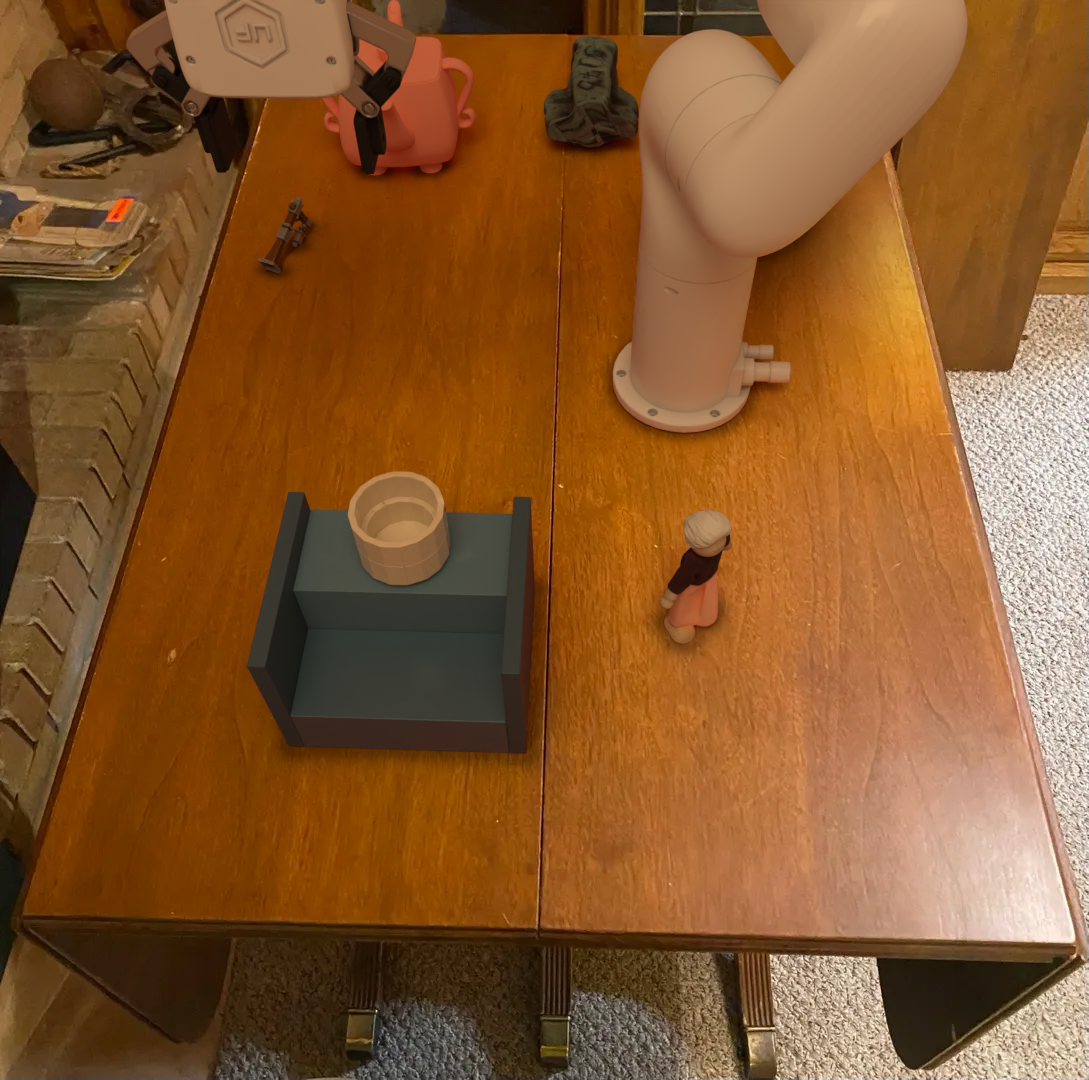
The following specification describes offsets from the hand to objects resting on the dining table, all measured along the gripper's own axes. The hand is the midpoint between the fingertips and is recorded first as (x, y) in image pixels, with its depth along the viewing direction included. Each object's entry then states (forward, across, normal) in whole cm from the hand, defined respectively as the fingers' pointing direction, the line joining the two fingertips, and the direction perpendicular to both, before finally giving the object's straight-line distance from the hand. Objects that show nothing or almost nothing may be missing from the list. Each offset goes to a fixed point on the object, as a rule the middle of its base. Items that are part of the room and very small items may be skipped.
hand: (299, 161), depth 67 cm
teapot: (+28, -2, +44) cm, 52 cm away
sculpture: (+28, +19, +50) cm, 61 cm away
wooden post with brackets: (+28, -12, +26) cm, 40 cm away
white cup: (+18, +7, -18) cm, 27 cm away
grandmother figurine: (+28, +28, -17) cm, 43 cm away
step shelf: (+28, +7, -22) cm, 37 cm away
